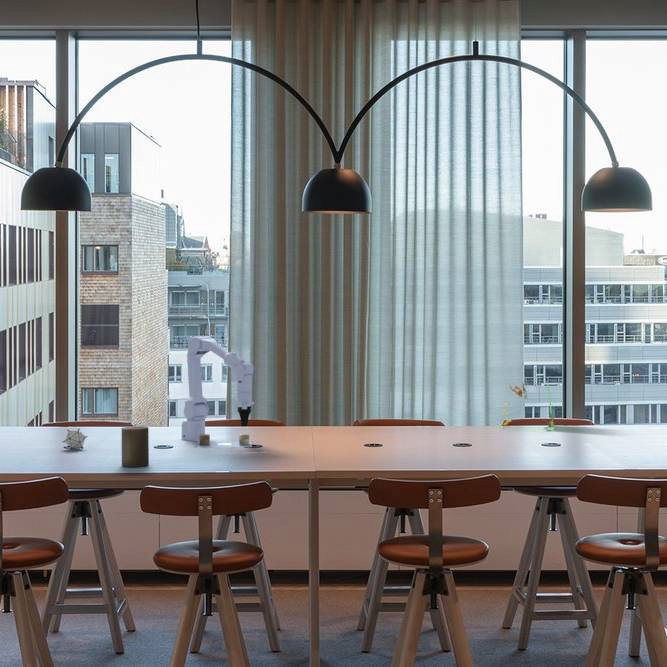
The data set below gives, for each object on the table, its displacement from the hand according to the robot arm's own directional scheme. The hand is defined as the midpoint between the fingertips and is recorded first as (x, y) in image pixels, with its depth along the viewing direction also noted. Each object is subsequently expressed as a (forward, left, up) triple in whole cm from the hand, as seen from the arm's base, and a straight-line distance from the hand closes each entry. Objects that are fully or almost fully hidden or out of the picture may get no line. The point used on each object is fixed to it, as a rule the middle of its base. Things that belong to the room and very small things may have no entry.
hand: (244, 425), depth 433 cm
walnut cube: (-14, -8, -8) cm, 18 cm away
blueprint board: (-7, -4, -8) cm, 12 cm away
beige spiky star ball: (-56, -37, -9) cm, 68 cm away
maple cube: (0, 0, -8) cm, 8 cm away
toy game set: (+89, +107, -9) cm, 140 cm away
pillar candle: (-11, -60, -9) cm, 62 cm away
